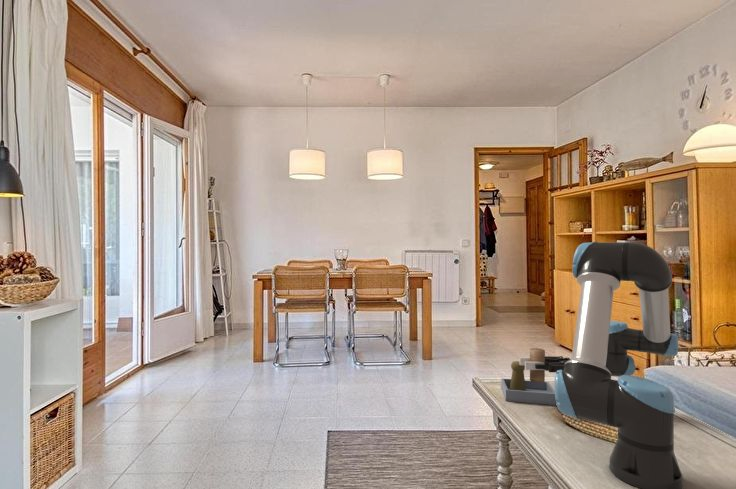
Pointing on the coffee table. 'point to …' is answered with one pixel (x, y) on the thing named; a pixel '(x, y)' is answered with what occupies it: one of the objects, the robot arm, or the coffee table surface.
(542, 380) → the walnut cylinder
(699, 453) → the coffee table surface
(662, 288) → the robot arm
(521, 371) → the cork
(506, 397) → the tote
